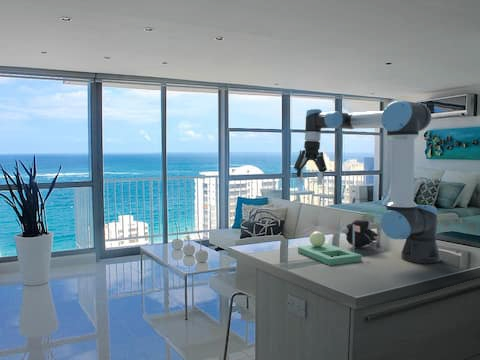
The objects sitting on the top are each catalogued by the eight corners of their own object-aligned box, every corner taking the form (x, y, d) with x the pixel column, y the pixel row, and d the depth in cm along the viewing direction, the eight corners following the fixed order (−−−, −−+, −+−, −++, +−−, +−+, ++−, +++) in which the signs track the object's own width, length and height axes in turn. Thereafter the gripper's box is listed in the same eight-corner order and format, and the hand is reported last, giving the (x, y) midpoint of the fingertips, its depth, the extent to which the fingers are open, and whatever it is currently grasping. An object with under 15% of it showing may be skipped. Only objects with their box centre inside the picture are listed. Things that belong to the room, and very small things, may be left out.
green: (298, 252, 189) (298, 246, 189) (327, 248, 195) (327, 243, 195) (329, 265, 167) (329, 259, 166) (361, 261, 173) (361, 255, 173)
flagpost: (352, 256, 180) (352, 224, 179) (353, 256, 180) (353, 224, 180) (358, 259, 176) (359, 226, 175) (360, 258, 176) (360, 226, 176)
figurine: (390, 231, 206) (368, 219, 183) (383, 256, 205) (360, 248, 182) (364, 224, 215) (339, 213, 192) (357, 249, 214) (332, 240, 191)
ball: (327, 245, 190) (327, 230, 190) (322, 249, 184) (322, 233, 183) (312, 244, 193) (312, 229, 193) (307, 247, 187) (307, 232, 186)
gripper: (324, 143, 214) (321, 184, 215) (288, 139, 200) (285, 183, 201) (335, 143, 208) (333, 185, 209) (298, 138, 194) (296, 184, 194)
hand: (309, 184), depth 205 cm, fingers open, 13 cm apart
